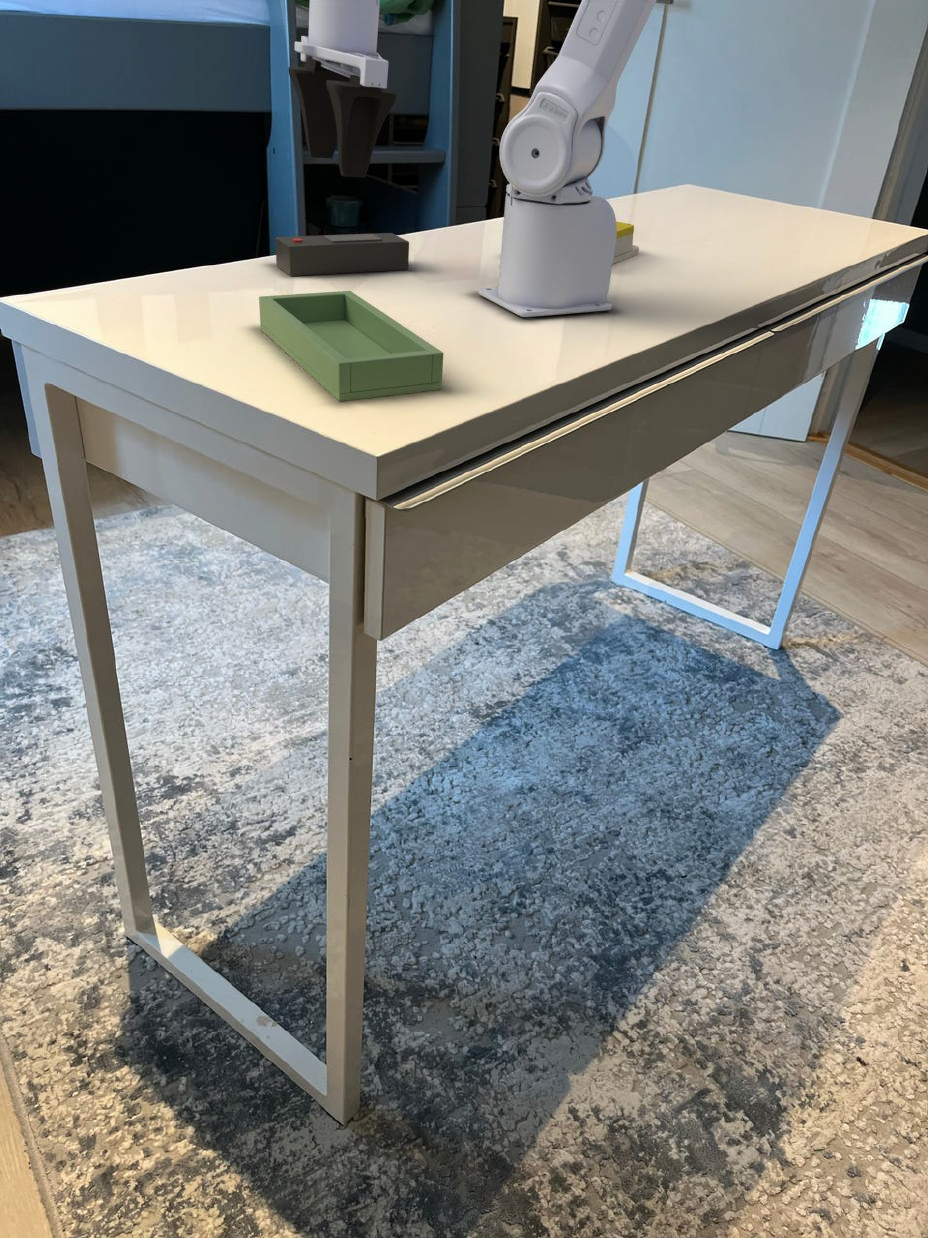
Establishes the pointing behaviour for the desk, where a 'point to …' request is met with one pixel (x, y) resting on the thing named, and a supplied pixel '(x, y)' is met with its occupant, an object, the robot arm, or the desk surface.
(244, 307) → the desk surface
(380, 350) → the tray
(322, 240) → the remote
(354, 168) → the robot arm
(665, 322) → the desk surface
